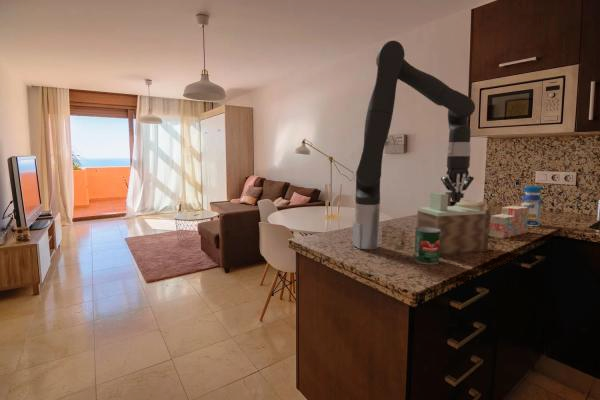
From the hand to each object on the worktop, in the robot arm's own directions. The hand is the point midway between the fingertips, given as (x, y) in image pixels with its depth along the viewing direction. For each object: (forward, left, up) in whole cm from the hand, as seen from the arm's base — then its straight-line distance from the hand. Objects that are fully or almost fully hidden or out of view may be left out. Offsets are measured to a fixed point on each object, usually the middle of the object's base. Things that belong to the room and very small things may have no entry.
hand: (456, 202), depth 121 cm
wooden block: (+18, +24, -19) cm, 35 cm away
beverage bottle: (+69, +28, -19) cm, 77 cm away
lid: (-2, 0, -5) cm, 5 cm away
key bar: (+7, 0, -3) cm, 7 cm away
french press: (+30, +36, -19) cm, 50 cm away
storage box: (-2, 0, -18) cm, 18 cm away
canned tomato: (-18, -9, -19) cm, 27 cm away
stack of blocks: (+42, +15, -19) cm, 48 cm away
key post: (+10, 0, -18) cm, 21 cm away
